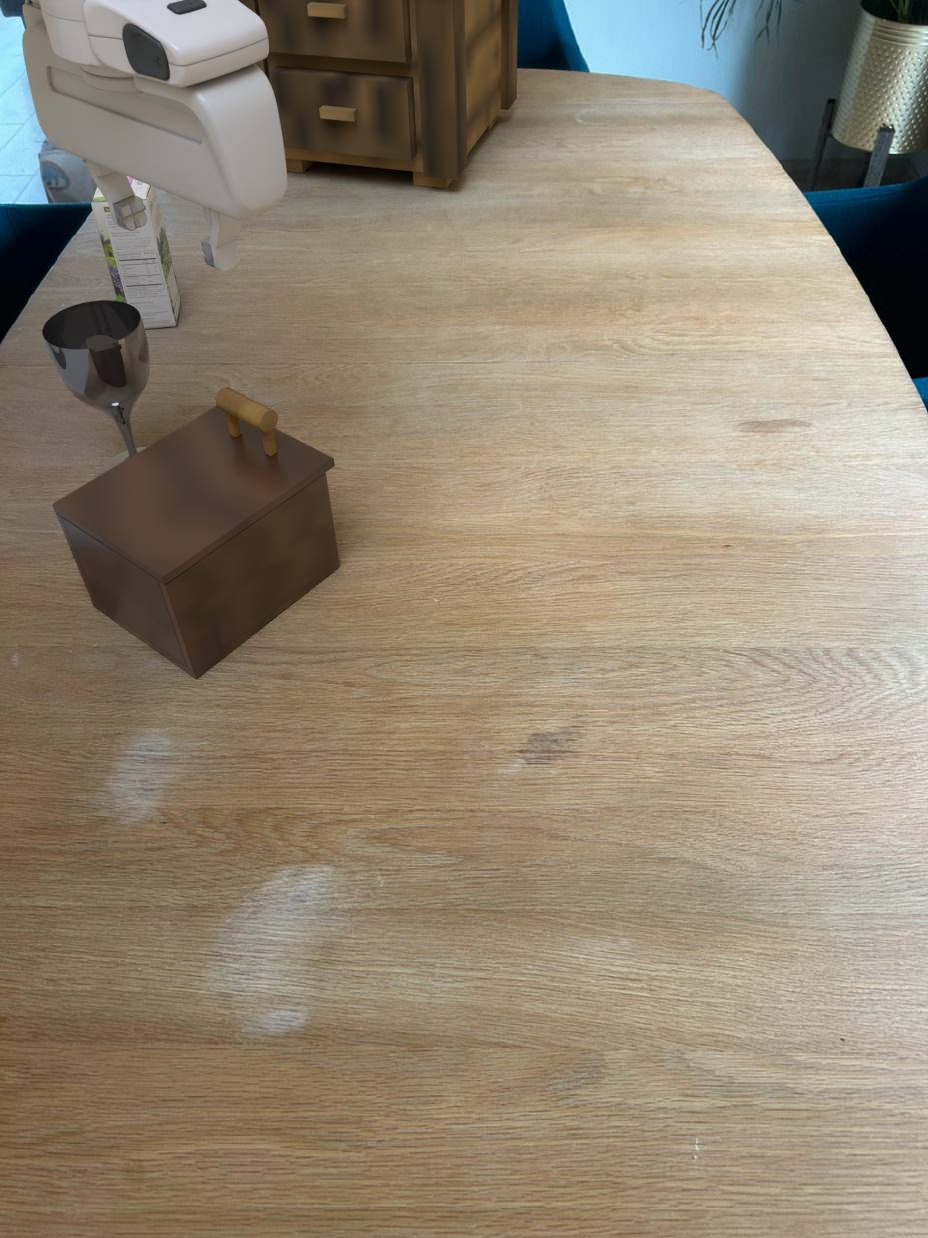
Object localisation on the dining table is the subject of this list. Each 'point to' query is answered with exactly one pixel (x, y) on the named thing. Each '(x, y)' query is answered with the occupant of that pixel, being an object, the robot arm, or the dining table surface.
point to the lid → (195, 487)
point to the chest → (216, 582)
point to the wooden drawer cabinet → (389, 80)
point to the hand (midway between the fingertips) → (176, 245)
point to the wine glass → (102, 360)
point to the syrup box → (140, 260)
